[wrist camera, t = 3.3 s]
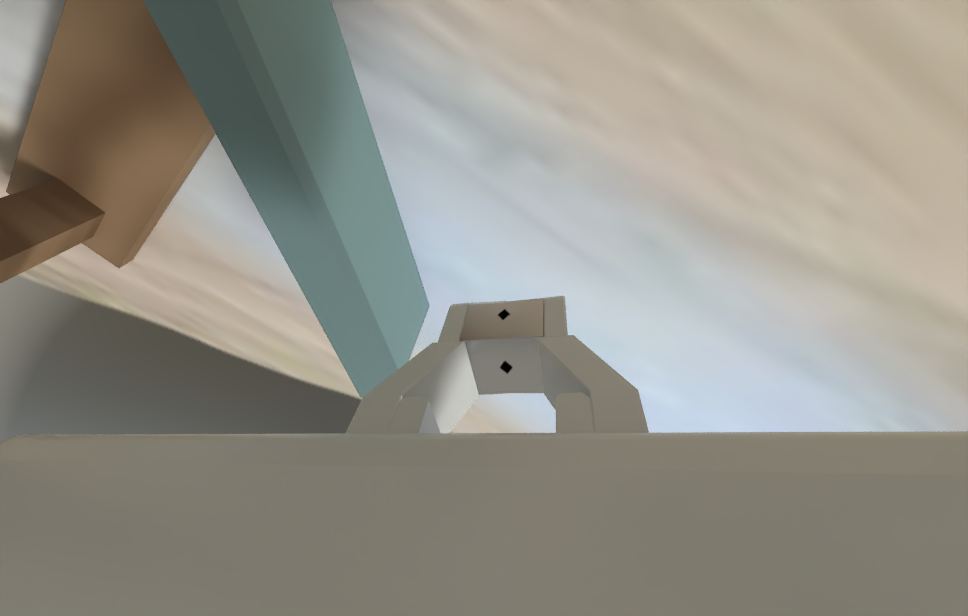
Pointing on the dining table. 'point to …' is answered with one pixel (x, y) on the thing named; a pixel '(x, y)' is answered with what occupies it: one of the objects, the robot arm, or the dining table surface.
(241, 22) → the gate
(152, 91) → the gate frame
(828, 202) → the dining table surface
